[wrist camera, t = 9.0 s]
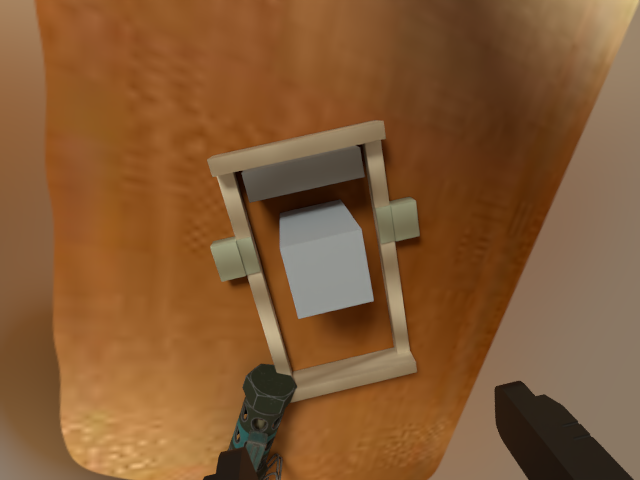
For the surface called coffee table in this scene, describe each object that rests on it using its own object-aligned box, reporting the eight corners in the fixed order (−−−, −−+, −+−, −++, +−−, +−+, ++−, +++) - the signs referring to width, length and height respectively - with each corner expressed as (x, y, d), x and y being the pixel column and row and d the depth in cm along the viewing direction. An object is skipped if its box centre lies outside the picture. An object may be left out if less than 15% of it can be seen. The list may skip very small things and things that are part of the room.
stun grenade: (251, 356, 34) (216, 465, 38) (238, 406, 28) (198, 529, 32) (314, 373, 34) (274, 478, 38) (315, 425, 28) (267, 543, 32)
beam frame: (186, 161, 27) (171, 169, 23) (400, 114, 27) (419, 115, 24) (262, 389, 34) (260, 423, 31) (427, 349, 35) (445, 378, 31)
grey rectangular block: (279, 213, 29) (279, 248, 21) (340, 199, 29) (361, 229, 22) (293, 268, 31) (298, 318, 23) (350, 255, 31) (373, 300, 23)
